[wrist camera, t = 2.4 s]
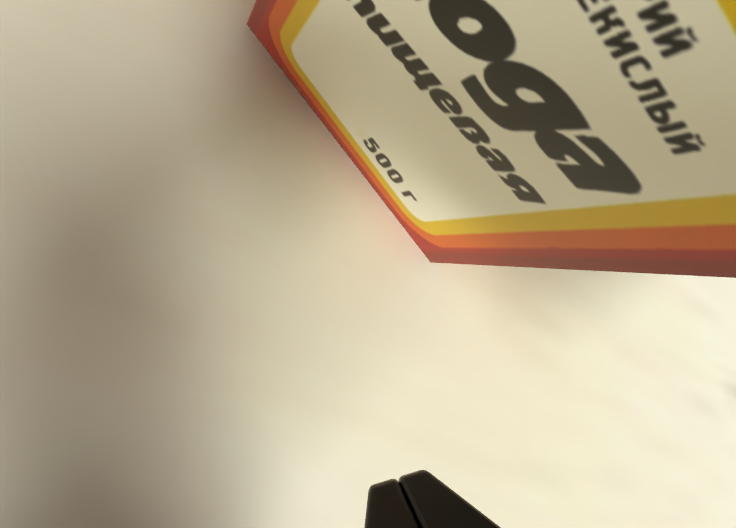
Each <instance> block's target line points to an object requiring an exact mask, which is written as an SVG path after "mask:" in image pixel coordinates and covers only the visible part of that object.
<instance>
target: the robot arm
mask: <svg viewBox="0 0 736 528" xmlns="http://www.w3.org/2000/svg"><path fill="white" fill-rule="evenodd" d="M365 528H500V527H499V526H498V525H497V524H495V523H494V522H493V521H491V520H490V519H489V518H487V517H486V516H485V515H484V514H482V513H481V512H480V511H478V510H477V509H476V508H475V507H473V506H472V505H471V504H469V503H468V502H467V501H466V500H464V499H463V498H462V497H460V496H459V495H458V494H457V493H455V492H454V491H453V490H451V489H450V488H449V487H447V486H446V485H445V484H444V483H442V482H441V481H440V480H438V479H437V478H436V477H435V476H433V475H432V474H431V473H429V472H428V471H426V470H419V471H416V472H413V473H410V474H407V475H403V476H401V477H400V478H399V481H397V480H396V479H390V480H387V481H384V482H380V483H377V484H374V485H372V486H371V487H370V488H369V492H368V501H367V510H366V519H365Z"/></svg>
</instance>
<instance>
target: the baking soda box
mask: <svg viewBox="0 0 736 528" xmlns="http://www.w3.org/2000/svg"><path fill="white" fill-rule="evenodd" d="M247 25H248V26H249V28H250V29H251V30H252V32H253V33H254V34H255V35H256V37H257V38H258V39H259V41H260V42H261V43H262V45H263V46H264V47H265V48H266V50H267V51H268V52H269V54H270V55H271V56H272V57H273V59H274V60H275V61H276V63H277V64H278V65H279V67H280V68H281V69H282V70H283V72H284V73H285V74H286V76H287V77H288V78H289V79H290V81H291V82H292V83H293V85H294V86H295V87H296V89H297V90H298V91H299V92H300V94H301V95H302V96H303V98H304V99H305V100H306V101H307V103H308V104H309V105H310V107H311V108H312V109H313V111H314V112H315V113H316V114H317V116H318V117H319V118H320V120H321V121H322V122H323V123H324V125H325V126H326V127H327V129H328V130H329V131H330V133H331V134H332V135H333V136H334V138H335V139H336V140H337V142H338V143H339V144H340V145H341V147H342V148H343V149H344V151H345V152H346V153H347V155H348V156H349V157H350V158H351V160H352V161H353V162H354V164H355V165H356V166H357V168H358V169H359V170H360V171H361V173H362V174H363V175H364V177H365V178H366V179H367V180H368V182H369V183H370V184H371V186H372V187H373V188H374V190H375V191H376V192H377V193H378V195H379V196H380V197H381V199H382V200H383V201H384V202H385V204H386V205H387V206H388V208H389V209H390V210H391V212H392V213H393V214H394V215H395V217H396V218H397V219H398V221H399V222H400V223H401V224H402V226H403V227H404V228H405V230H406V231H407V232H408V234H409V235H410V236H411V237H412V239H413V240H414V241H415V243H416V244H417V245H418V246H419V248H420V249H421V250H422V252H423V253H424V254H425V256H426V257H427V258H428V259H429V261H430V262H435V263H455V264H475V265H495V266H515V267H534V268H554V269H574V270H594V271H614V272H634V273H654V274H674V275H694V276H714V277H734V278H736V0H257V1H256V3H255V6H254V8H253V11H252V13H251V15H250V18H249V20H248V23H247Z"/></svg>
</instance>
